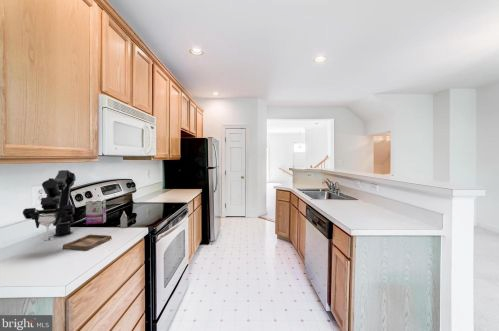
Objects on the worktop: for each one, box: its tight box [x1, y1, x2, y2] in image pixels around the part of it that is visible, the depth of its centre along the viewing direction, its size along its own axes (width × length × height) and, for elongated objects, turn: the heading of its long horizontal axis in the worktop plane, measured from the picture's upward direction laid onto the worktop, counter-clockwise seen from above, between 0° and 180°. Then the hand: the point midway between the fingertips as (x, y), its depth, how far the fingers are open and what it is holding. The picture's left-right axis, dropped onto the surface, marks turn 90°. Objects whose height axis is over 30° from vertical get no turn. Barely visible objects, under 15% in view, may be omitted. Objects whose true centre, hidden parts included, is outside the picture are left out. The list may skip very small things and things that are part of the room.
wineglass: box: [38, 213, 57, 242], centre depth 105 cm, size 7×7×12 cm
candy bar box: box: [85, 199, 107, 225], centre depth 155 cm, size 11×5×16 cm, turn 102°
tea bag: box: [120, 210, 128, 229], centre depth 148 cm, size 4×7×10 cm, turn 28°
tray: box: [62, 234, 112, 251], centre depth 117 cm, size 16×14×2 cm
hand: (46, 226), depth 104 cm, fingers closed on wineglass, 6 cm apart
